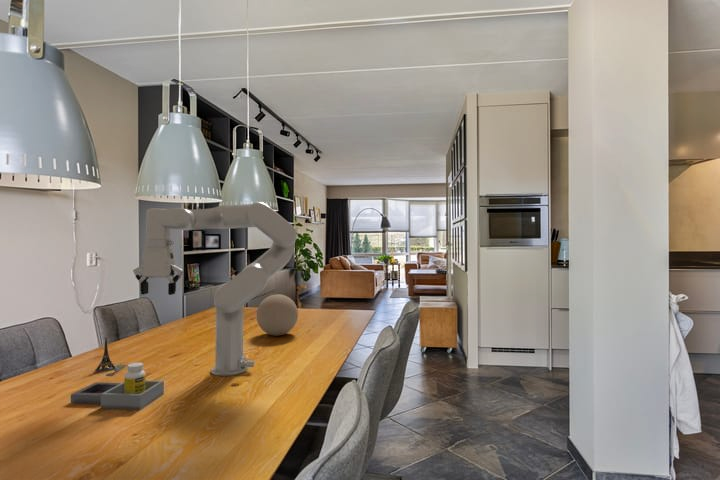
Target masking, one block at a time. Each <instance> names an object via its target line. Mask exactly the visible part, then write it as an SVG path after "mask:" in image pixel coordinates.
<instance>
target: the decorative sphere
mask: <svg viewBox="0 0 720 480" xmlns="http://www.w3.org/2000/svg"><path fill="white" fill-rule="evenodd" d="M297 307H298V306H297V305H296V303H295V302H294V300H293V299H292V298H290V297H289V296H286V295H285V294H280V293H279V294H272V295H268V296H267V297H265V298H264V299H263V300H261V302H260V303H259V305H258V308H257V311H256V322H257V325H258V326H259V328H260V329H261V330H262V332H264V333H266V334H268V335H269V336H270V335H271V336H275V337H276V336H282V335H286V334H288V333H289V332H291V330H292V329H294V327H295V325H297V322H298V317H299V312H298V311H299V310H298V308H297Z"/></svg>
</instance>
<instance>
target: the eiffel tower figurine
mask: <svg viewBox="0 0 720 480" xmlns="http://www.w3.org/2000/svg"><path fill="white" fill-rule="evenodd" d="M103 351H104V352H103V355H102V358H101V361H100V362H99V364H98V365H97V367H96V369H95V371H96V372H98V373H100V374H103V373H107V372H110V373H108V374H105V377H110V376H112V377H113V376H114V375H115V374H116V373H118V372H120V371H121V370H122V369H124V368H125V367H127V366H128V364H126V365H124V364H125V363H119V364H120V365H117V366H114V365H115V364H114V363H112V362H113V361H112V360H111V358H110V355H109V351H108V337H107V336H104V349H103ZM121 364H123V365H121ZM107 367H109V368H107ZM112 371H113V372H112ZM111 372H112V373H111Z"/></svg>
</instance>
